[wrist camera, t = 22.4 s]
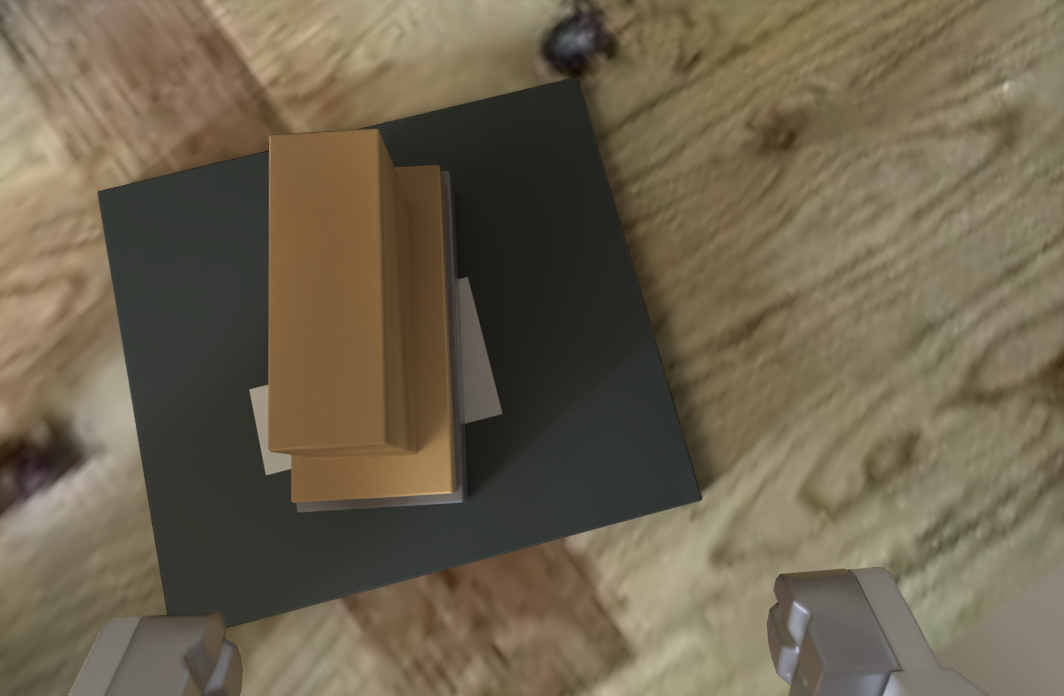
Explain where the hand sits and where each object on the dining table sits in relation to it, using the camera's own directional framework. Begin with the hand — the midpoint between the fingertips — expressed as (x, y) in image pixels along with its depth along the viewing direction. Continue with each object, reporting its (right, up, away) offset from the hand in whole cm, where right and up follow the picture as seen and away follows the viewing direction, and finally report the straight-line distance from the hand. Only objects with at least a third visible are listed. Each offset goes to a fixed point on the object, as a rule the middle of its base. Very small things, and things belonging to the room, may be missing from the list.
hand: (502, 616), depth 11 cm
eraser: (-5, +4, +15) cm, 16 cm away
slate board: (-5, +4, +16) cm, 17 cm away
